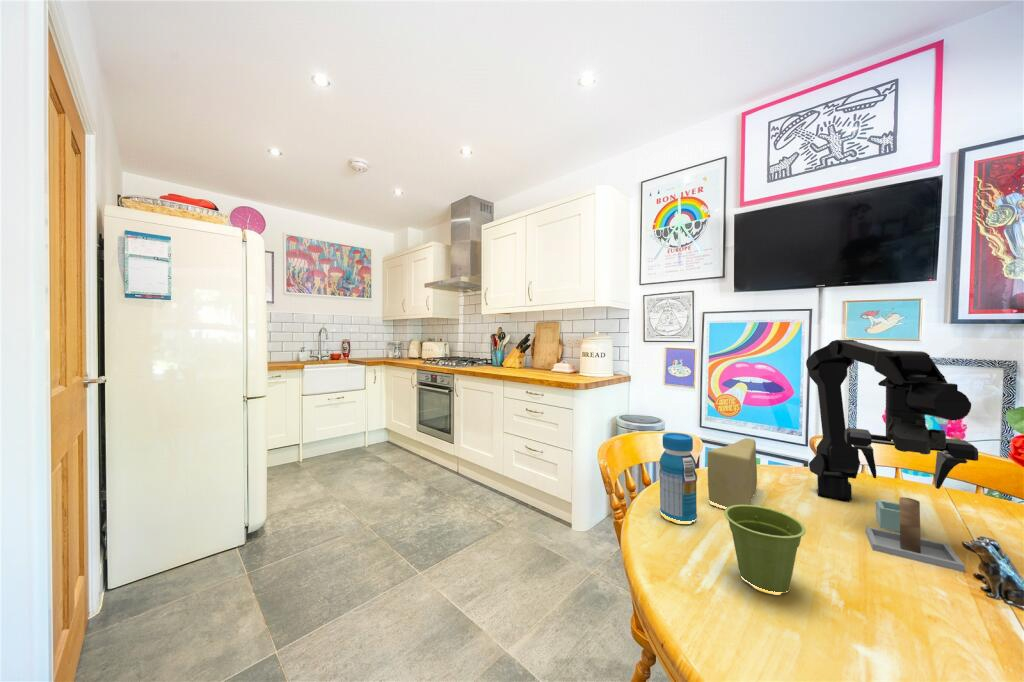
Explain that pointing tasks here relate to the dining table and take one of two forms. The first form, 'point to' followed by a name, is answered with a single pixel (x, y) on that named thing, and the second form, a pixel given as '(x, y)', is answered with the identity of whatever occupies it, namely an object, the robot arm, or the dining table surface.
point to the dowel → (909, 524)
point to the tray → (929, 552)
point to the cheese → (733, 473)
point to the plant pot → (765, 545)
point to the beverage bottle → (678, 478)
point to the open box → (888, 515)
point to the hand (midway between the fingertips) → (904, 482)
